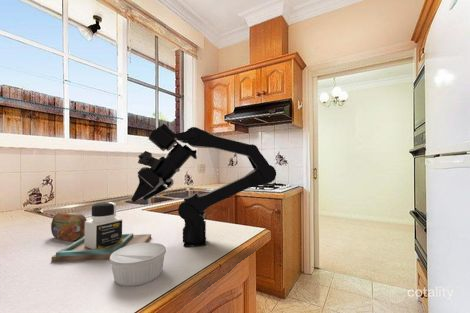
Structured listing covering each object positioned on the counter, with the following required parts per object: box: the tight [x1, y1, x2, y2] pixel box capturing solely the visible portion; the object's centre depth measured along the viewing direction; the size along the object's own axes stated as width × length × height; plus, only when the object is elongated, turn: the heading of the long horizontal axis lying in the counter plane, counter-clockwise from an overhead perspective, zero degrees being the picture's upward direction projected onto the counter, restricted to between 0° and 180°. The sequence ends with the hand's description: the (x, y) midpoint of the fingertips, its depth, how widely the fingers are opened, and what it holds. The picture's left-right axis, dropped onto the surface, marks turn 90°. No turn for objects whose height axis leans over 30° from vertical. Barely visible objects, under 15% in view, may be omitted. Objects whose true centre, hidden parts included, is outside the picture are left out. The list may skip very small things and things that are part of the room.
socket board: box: [50, 233, 152, 263], centre depth 64 cm, size 20×16×2 cm
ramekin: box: [109, 242, 167, 287], centre depth 48 cm, size 11×11×5 cm
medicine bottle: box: [84, 201, 123, 249], centre depth 64 cm, size 7×7×12 cm
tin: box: [50, 212, 88, 242], centre depth 73 cm, size 15×3×8 cm, turn 68°
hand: (138, 200), depth 66 cm, fingers open, 9 cm apart
